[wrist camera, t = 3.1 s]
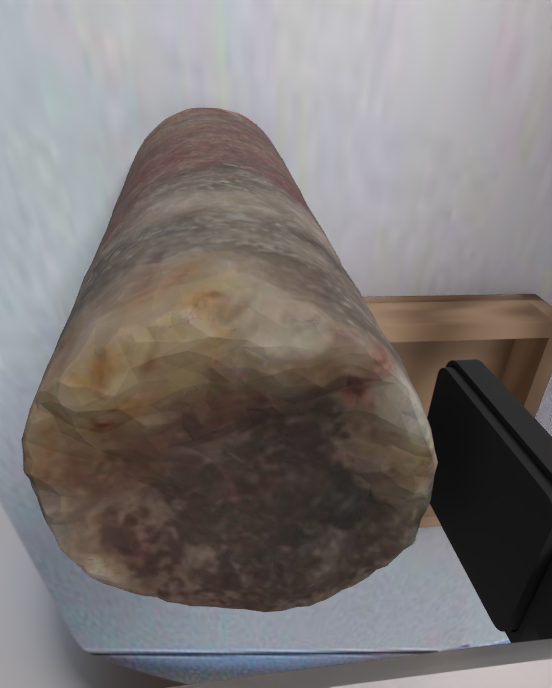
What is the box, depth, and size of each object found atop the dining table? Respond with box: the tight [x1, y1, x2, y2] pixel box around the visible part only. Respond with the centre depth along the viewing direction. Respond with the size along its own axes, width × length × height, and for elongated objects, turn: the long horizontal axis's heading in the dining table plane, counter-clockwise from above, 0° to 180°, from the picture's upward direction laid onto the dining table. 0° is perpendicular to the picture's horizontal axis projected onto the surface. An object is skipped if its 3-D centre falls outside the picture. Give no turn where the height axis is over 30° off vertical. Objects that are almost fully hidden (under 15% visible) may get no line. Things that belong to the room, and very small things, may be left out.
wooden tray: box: [363, 294, 552, 527], centre depth 32 cm, size 15×16×4 cm
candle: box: [22, 108, 438, 612], centre depth 17 cm, size 8×7×20 cm
